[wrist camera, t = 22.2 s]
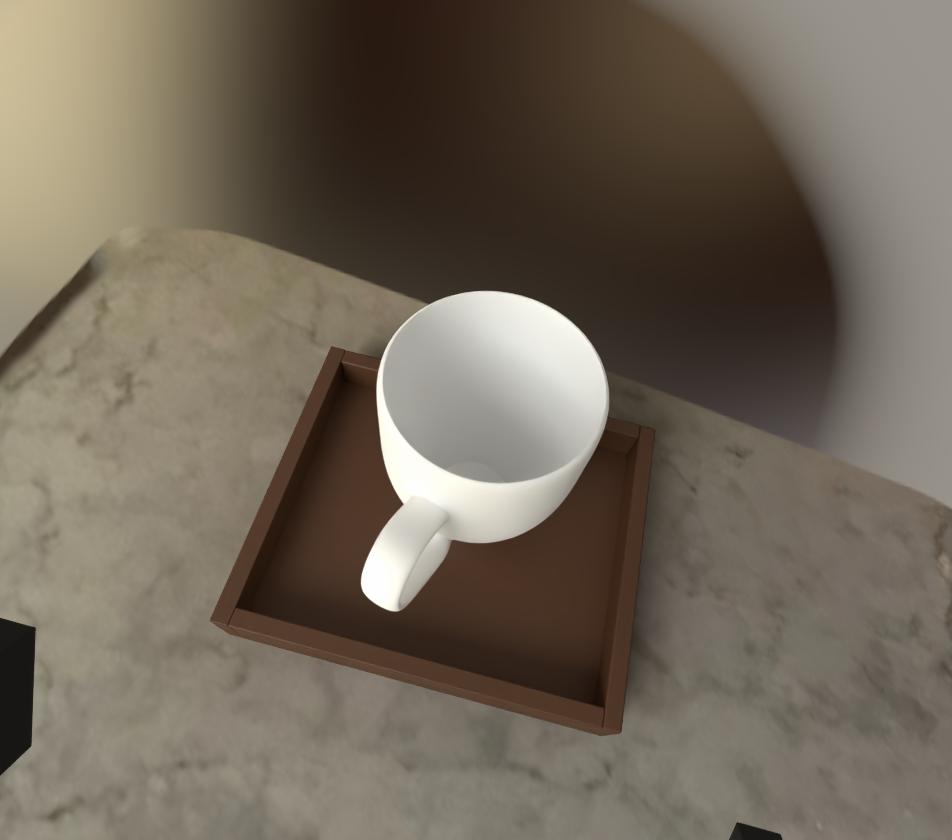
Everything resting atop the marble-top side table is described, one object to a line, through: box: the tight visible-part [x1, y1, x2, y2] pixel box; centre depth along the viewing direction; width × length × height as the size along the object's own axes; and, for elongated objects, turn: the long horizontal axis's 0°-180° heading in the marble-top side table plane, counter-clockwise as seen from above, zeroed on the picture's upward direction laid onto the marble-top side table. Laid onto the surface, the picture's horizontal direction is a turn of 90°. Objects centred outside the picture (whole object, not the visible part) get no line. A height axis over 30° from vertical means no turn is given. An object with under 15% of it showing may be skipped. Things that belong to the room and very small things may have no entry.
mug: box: [361, 291, 609, 611], centre depth 26 cm, size 12×8×11 cm
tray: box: [210, 347, 655, 736], centre depth 30 cm, size 18×15×3 cm
